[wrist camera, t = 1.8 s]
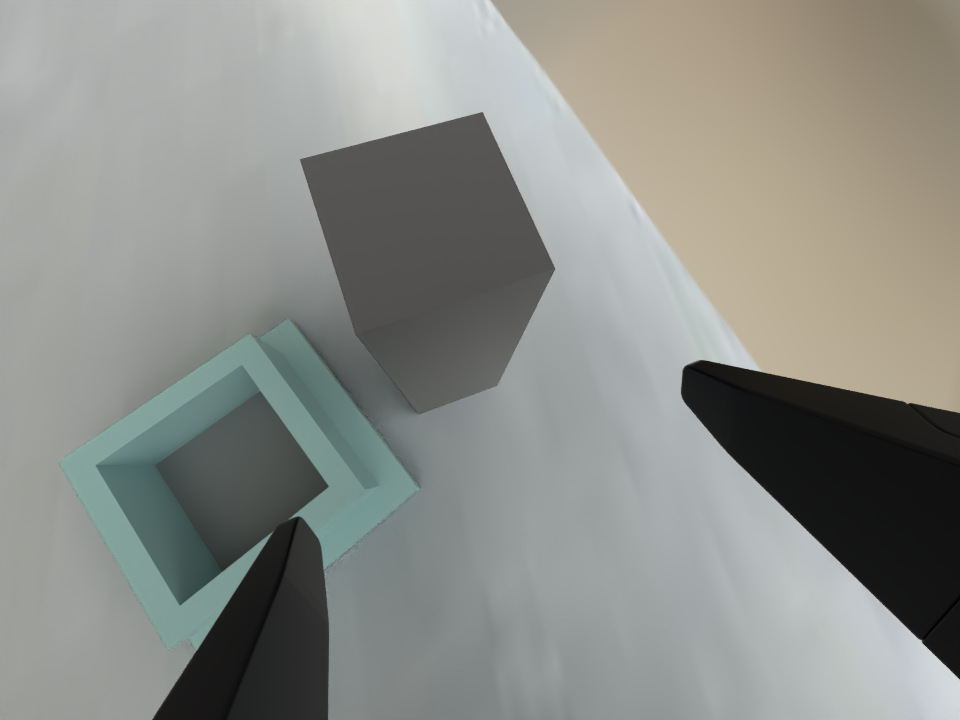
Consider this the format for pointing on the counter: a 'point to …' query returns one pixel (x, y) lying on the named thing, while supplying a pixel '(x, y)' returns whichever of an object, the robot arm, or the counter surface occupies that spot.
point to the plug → (432, 255)
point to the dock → (233, 476)
